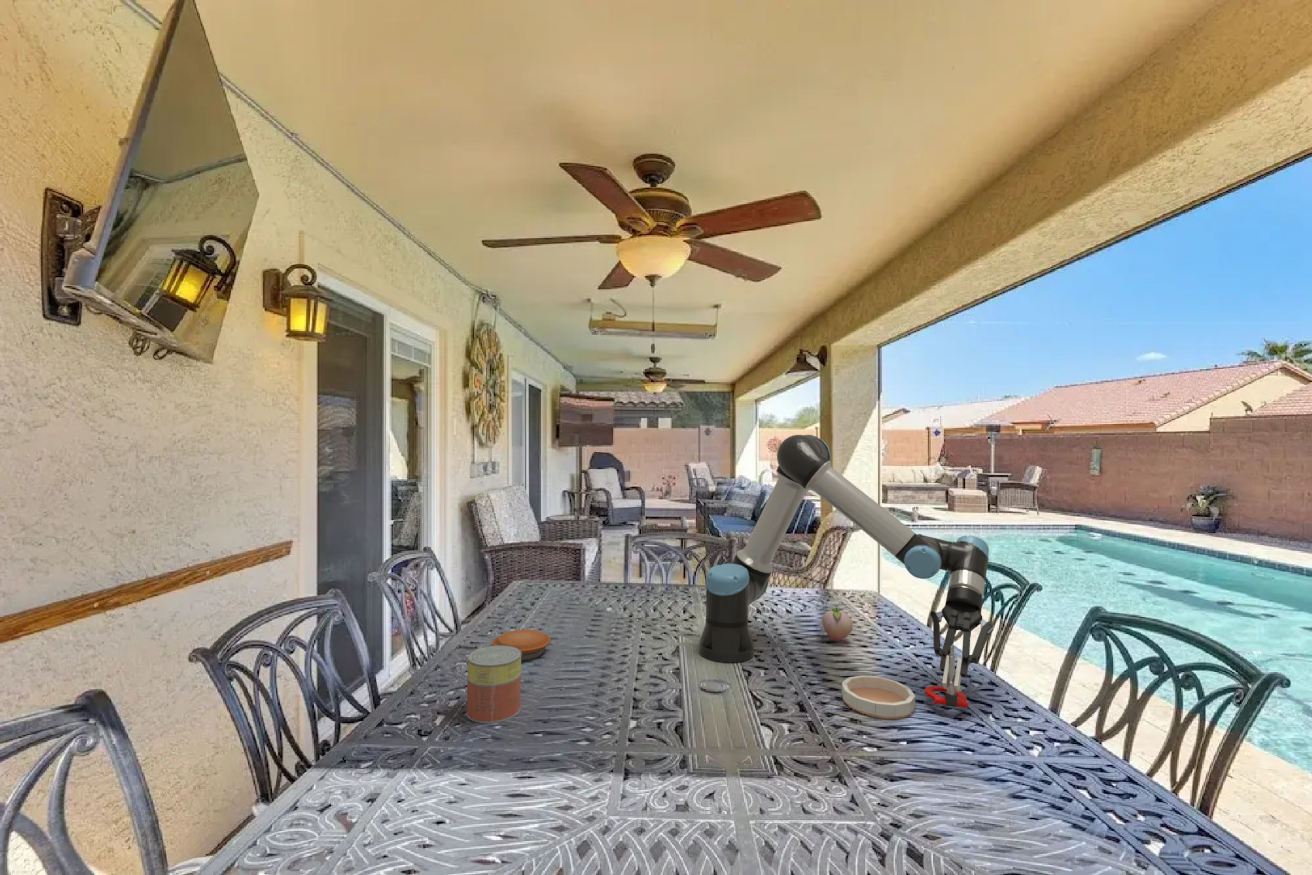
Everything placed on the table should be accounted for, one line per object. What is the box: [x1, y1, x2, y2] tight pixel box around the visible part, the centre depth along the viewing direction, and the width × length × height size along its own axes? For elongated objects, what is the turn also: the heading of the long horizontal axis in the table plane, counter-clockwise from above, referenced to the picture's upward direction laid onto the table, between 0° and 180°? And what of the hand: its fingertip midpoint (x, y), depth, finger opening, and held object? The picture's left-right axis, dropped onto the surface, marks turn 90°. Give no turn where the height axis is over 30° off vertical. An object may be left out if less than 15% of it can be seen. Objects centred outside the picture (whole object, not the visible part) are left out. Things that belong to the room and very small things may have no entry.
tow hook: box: [924, 644, 969, 709], centre depth 129 cm, size 8×13×9 cm
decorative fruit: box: [821, 606, 853, 642], centre depth 170 cm, size 9×8×10 cm
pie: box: [491, 629, 552, 662], centre depth 157 cm, size 15×16×5 cm
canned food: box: [465, 645, 522, 724], centre depth 124 cm, size 11×11×12 cm
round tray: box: [841, 674, 916, 720], centre depth 130 cm, size 15×15×3 cm
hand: (950, 687), depth 125 cm, fingers closed on tow hook, 1 cm apart
